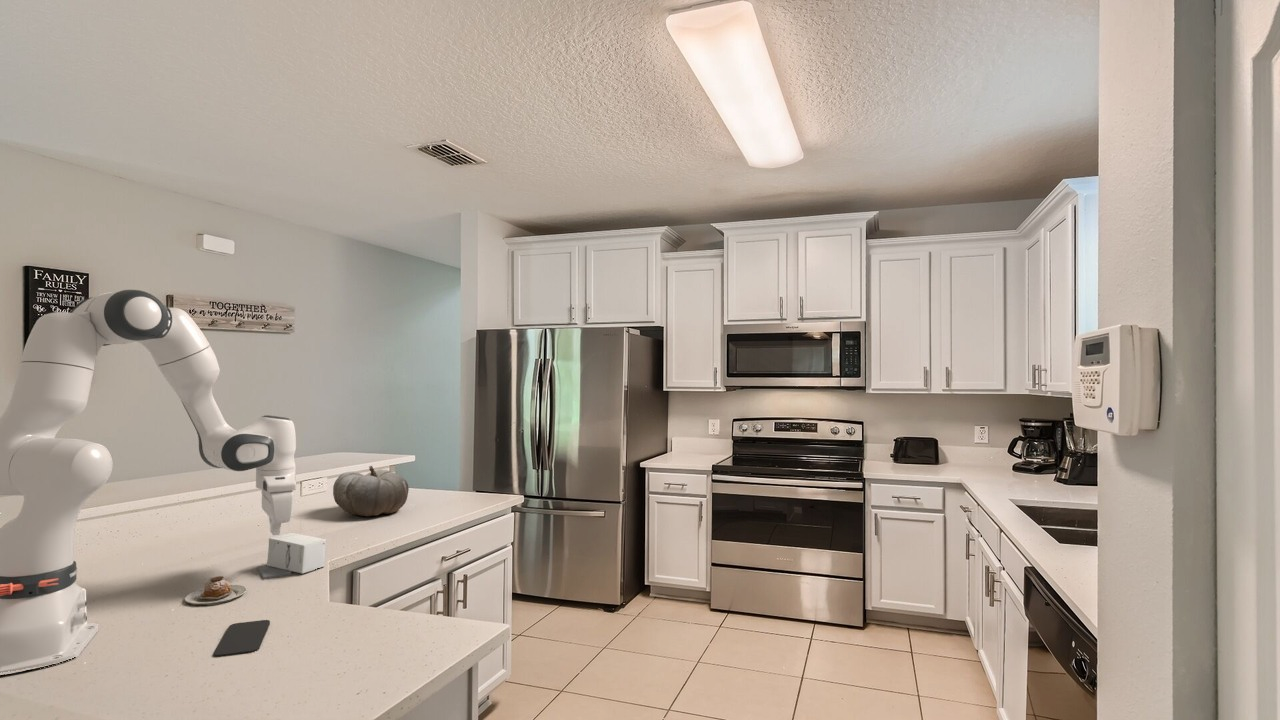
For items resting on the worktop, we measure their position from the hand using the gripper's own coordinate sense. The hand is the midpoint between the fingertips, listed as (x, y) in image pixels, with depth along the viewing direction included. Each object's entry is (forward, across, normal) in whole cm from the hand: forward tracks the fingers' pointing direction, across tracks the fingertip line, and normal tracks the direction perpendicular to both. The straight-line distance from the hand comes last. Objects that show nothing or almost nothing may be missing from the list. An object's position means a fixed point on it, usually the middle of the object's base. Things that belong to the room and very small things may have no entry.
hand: (275, 533), depth 167 cm
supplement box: (+6, -7, +2) cm, 9 cm away
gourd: (+10, -54, +39) cm, 67 cm away
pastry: (+11, +10, -13) cm, 20 cm away
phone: (+11, +40, -11) cm, 42 cm away
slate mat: (+10, -2, 0) cm, 10 cm away
